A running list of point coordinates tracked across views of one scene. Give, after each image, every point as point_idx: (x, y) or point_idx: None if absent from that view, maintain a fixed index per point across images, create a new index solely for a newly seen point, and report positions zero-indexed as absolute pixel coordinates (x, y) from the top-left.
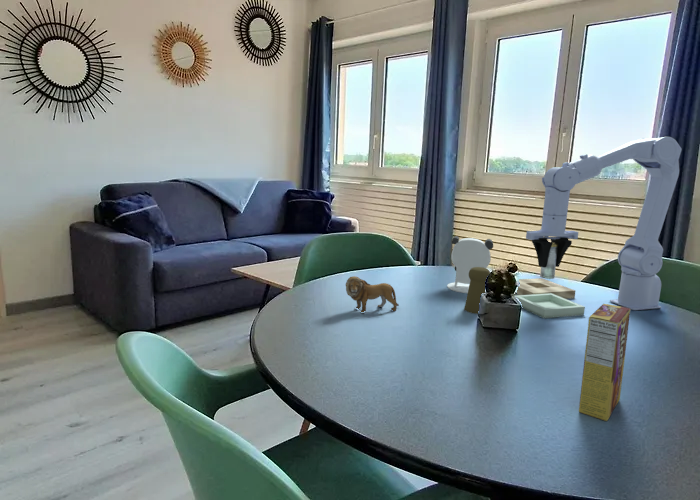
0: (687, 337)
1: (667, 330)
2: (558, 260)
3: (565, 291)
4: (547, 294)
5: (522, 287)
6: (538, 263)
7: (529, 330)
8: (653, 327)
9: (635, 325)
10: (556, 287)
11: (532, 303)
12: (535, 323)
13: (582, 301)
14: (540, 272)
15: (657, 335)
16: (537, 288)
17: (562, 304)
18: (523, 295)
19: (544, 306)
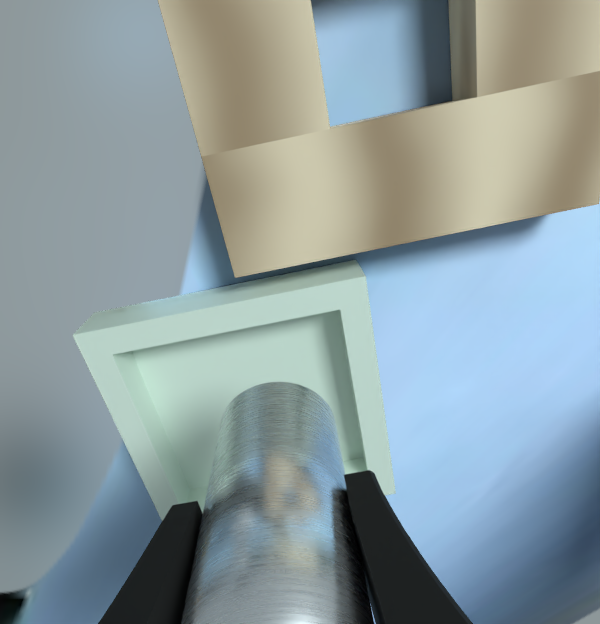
0: (572, 612)
1: (572, 574)
2: (374, 612)
3: (507, 220)
4: (320, 305)
5: (212, 114)
6: (160, 527)
7: (74, 592)
8: (552, 555)
9: (504, 543)
10: (516, 110)
11: (142, 462)
12: (120, 542)
13: (555, 262)
14: (218, 439)
15: (493, 605)
16: (330, 147)
17: (351, 384)
18: (141, 330)
19: None
